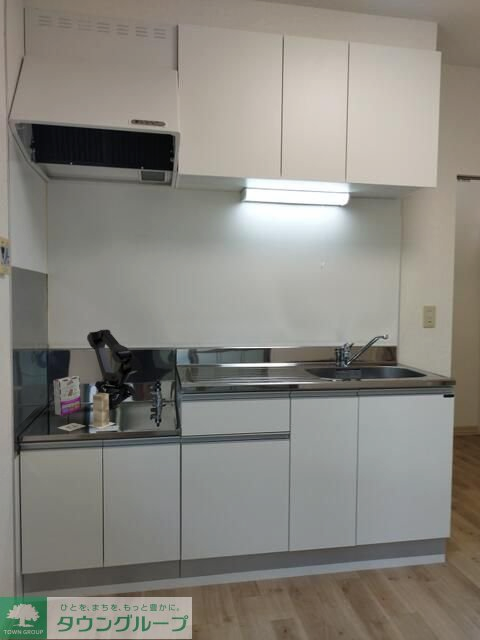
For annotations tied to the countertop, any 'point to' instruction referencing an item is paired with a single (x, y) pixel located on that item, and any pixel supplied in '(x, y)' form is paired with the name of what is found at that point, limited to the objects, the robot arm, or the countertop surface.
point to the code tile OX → (101, 426)
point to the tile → (71, 426)
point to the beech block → (101, 409)
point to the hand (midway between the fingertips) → (106, 404)
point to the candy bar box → (67, 395)
